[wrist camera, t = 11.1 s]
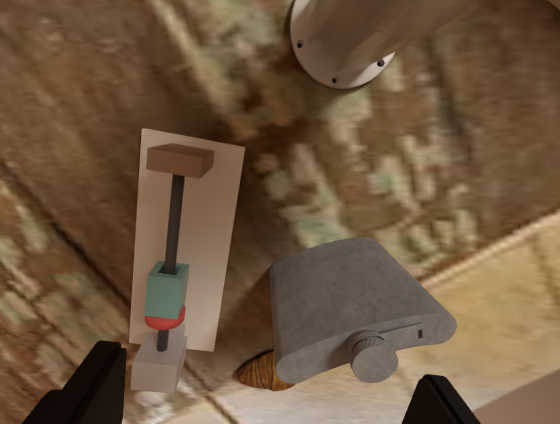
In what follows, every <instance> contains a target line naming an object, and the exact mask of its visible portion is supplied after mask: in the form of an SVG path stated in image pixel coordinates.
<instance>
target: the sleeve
mask: <svg viewBox="0 0 560 424" xmlns="http://www.w3.org/2000/svg"><path fill="white" fill-rule="evenodd" d="M164 264H165V261H160V260H158V262H157V263H156V264H155V266H154V267H153V268H152V270H151V271H150V272H149V274H148V275H147V286H146V299H145V313H144V316H151V317H160V318H169V319H177V320H178V318H179V315H180V313H181V310H182V308H183V306H184V303H185V300H186V292H187V283H188V274H189V266H190V265H189V264H182V263H176V269H175V275H171V274H164Z"/></svg>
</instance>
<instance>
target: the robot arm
mask: <svg viewBox="0 0 560 424" xmlns="http://www.w3.org/2000/svg"><path fill="white" fill-rule="evenodd" d="M476 1H477V0H295V2H294V5H293V8H292V13H291V19H290V38H291V44H292V48H293V51H294V54H295V57H296V59H297V60H298V62H299V64H300V66H301V67H302V68H303V70H304V71H305V72H306V73H307V74H308V75H309V76H310V77H311V78H312V79H314V80H315V81H316V82H318V83H320V84H322V85H324V86H327V87H331V88H334V89H348V88H354V87H357V86H360V85H363V84H365V83H367V82H369V81H371V80H372V79H374V78H375V77H376V76H378V75H379V74H380V73H381V72H382V71H383V70H384V69H385V68H386V67H387V65H388V64H389V62H390V61H391V59H392V58H393V56H394V54H395V52H396V51H398V50H400V49H402V48H404V47H405V46H407V45H409V44H411V43H413V42H415V41H417V40H419V39H420V38H422V37H424V36H426V35H428V34H430V33H432V32H433V31H435V30H437V29H439V28H440V27H442V26H444V25H446V24H448V23H449V22H451V21H452V20H454V19H455V18H457V17H458V16H460V15H461V14H462V13H464V12H465V11H466V10H467V9H468V8H470V7H471V6H472V5H473V4H474V3H475V2H476ZM548 1H549V2H550V3H552V4H553V5H554V6H555V7H557V8H558V9H559V10H560V0H548ZM297 44H301V48H298V47H297ZM377 62H378V63H379V64H380V66H379V67H378V65H377ZM332 79H335V81H336V82H335V83H333V82H332ZM126 354H127V350H126V349H125V348H121V343H119V342H111V341H101V340H100V341H98V342H97V343H96V344H95V346H94V347H93V348H92V350H91V351H90V352H89V354H88V355H87V356H86V358H85V359H84V360H83V362H82V363H81V364H80V366H79V367H78V368H77V370H76V371H75V372H74V374H73V375H72V376H71V378H70V379H69V380H68V382H67V383H66V385H65V386H64V387H63V389H62V390H56V389H55V390H51V391H49V392H48V393H46V394H45V396H44V397H43V398H42V399H41V400H40V401H39V403H38V404H37V405H36V406H35V408H34V409H33V410H32V411H31V413H30V414H29V415H28V416H27V418H26V419H25V420H24V421H23V423H22V424H121V423H122V419H123V405H124V388H125V371H126ZM402 424H480V422H479V421H478V420H477V418H476V417H475V415H474V414H473V413H472V411H471V410H470V409H469V407H468V406H467V405H466V403H465V402H464V401H463V399H462V398H461V396H460V395H459V394H458V392H457V391H456V390H455V388H454V387H453V386H452V384H451V383H450V382H449V380H448V379H447V378H446V377H444V376H439V375H430V374H426V375H424V376H423V378H422V379H420V380H419V381H418V384H417V386H416V389H415V391H414V394H413V396H412V399H411V401H410V404H409V406H408V409H407V411H406V414H405V416H404V419H403V422H402Z"/></svg>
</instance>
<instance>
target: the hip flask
mask: <svg viewBox="0 0 560 424" xmlns="http://www.w3.org/2000/svg"><path fill="white" fill-rule="evenodd" d="M269 282H270V297H271V311H272V326H273V341H274V356H275V371H276V375H277V377H278V378H279V379H280V380H281V381H283V382H285V383H290V384H296V383H300V382H302V381H304V380H307V379H309V378H311V377H313V376H315V375H318V374H320V373H322V372H325V371H328V370H330V369H333V368H336V367H338V366H341V365H344V364H347V363H350V365H351V368H352V370H353V373H354V374H355V376H356V377H357V379H359V380H360V381H363V382H367V383H378V382H381V381H383V380H386V379H387V378H389V377H390V376H391V375H392V374H393V373H394V372H395V369H396V368H397V365H398V359H397V355H396V353H395V352H394V351H397V350H401V349H406V348H411V347H418V346H425V345H435V344H441V343H444V342H446V341H447V340H449V339H450V338H451V337H452V336H453V335H454V333H455V331H456V327H457V323H456V320H455V318H454V317H453V316H452V315H451V314H450V313H449V312H448V311H447V310H446V309H445V308H444V307H443V306H442V305H441V304H440V303H439V302H438V301H437V300H436V299H435V298H434V297H433V296H432V295H431V294H430V293H429V292H428V291H427V290H426V289H425V288H424V287H423V286H422V285H421V284H420V283H419V282H418V281H417V280H415V279H414V278H413V277H412V276H411V275H410V274H409V273H408V272H407V271H406V270H405V269H404V268H403V267H402V266H401V265H400V264H399V263H398V262H397V261H396V260H395V259H394V258H393V257H392V256H391V255H390V254H389V253H388V252H387V251H386V250H385V249H384V248H383V247H382V246H381V245H380V244H379V243H378V242H377V241H376V240H375V239H374V238H372V237H357V238H350V239H344V240H339V241H334V242H330V243H326V244H322V245H318V246H315V247H312V248H309V249H306V250H303V251H300V252H297V253H295V254H292V255H290V256H288V257H285V258H283V259H281V260H279V261H277V262H275V263H273V264H272V265H271V266H270V268H269Z"/></svg>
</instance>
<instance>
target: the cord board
mask: <svg viewBox="0 0 560 424" xmlns="http://www.w3.org/2000/svg"><path fill="white" fill-rule="evenodd" d="M244 154H245V147H242V146H237V145H232V144H226V143H221V142H216V141H210V140H205V139H200V138H194V137H189V136H184V135H178V134H173V133H168V132H163V131H157V130H152V129H147V128H142V135H141V151H140V168H139V184H138V201H137V217H136V234H135V250H134V267H133V284H132V300H131V317H130V333H129V343H135V344H142V345H141V347H140V348H139V350H138V352H137V354H136V356H135V358H134V360H133V362H132V374H131V389H130V390H140V391H151V392H163V393H175V390H176V387H177V384H178V380H179V377H180V374H181V371H182V368H183V365H184V361H185V354H186V349H193V350H202V351H212V352H213V351H214V346H215V340H216V334H217V327H218V321H219V314H220V308H221V302H222V295H223V289H224V282H225V276H226V269H227V263H228V257H229V250H230V244H231V237H232V231H233V224H234V218H235V211H236V205H237V199H238V192H239V186H240V179H241V173H242V166H243V160H244ZM158 260H160V261H165V264H164V274H171V275H175V269H176V263H182V264H189V265H190V266H189V274H188V283H187V292H186V300H185V303H184V306H183V308H182V310H181V313H180V315H179V318H178V320H177V319H169V318H160V317H151V316H144V313H145V299H146V286H147V275H148V274H149V272H150V271H151V270H152V268H153V267H154V266H155V264H156V263H157V262H158Z"/></svg>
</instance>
